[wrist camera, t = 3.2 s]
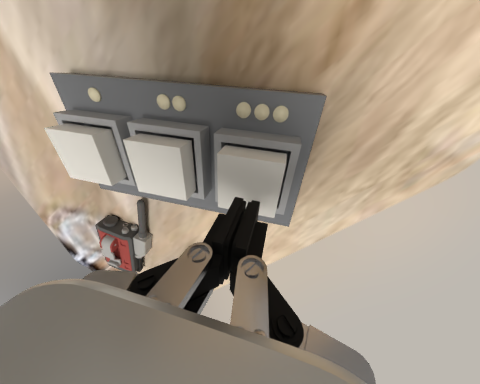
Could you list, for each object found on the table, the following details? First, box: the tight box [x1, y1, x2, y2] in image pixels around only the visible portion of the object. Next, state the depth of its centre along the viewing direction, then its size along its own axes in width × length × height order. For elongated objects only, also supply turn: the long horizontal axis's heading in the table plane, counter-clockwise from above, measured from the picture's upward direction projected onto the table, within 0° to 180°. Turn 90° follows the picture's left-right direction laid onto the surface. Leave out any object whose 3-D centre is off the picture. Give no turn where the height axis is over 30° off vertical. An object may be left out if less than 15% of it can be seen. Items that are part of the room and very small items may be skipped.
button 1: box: [44, 123, 127, 186], centre depth 17 cm, size 5×5×2 cm
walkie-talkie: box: [96, 199, 152, 272], centre depth 30 cm, size 9×4×20 cm
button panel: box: [50, 73, 326, 227], centre depth 18 cm, size 13×25×4 cm, turn 86°
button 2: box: [123, 133, 196, 201], centre depth 16 cm, size 5×5×2 cm
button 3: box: [217, 145, 287, 218], centre depth 15 cm, size 5×5×2 cm
